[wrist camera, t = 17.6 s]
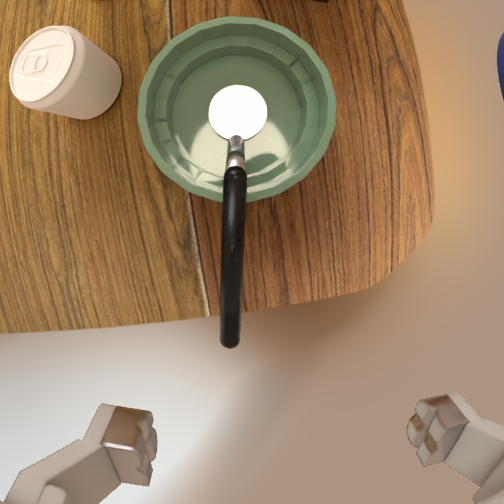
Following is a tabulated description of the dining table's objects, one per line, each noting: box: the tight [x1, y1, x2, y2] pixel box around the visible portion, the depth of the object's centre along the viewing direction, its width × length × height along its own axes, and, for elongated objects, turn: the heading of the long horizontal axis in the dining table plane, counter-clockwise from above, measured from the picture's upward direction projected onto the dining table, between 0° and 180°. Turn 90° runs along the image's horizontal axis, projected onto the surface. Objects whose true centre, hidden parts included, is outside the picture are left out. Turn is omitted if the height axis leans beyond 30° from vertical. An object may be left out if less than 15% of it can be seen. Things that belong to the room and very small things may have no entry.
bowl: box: [137, 17, 336, 203], centre depth 29 cm, size 18×18×7 cm
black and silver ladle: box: [208, 85, 267, 349], centre depth 29 cm, size 24×6×11 cm, turn 177°
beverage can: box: [9, 26, 122, 120], centre depth 24 cm, size 8×8×12 cm
